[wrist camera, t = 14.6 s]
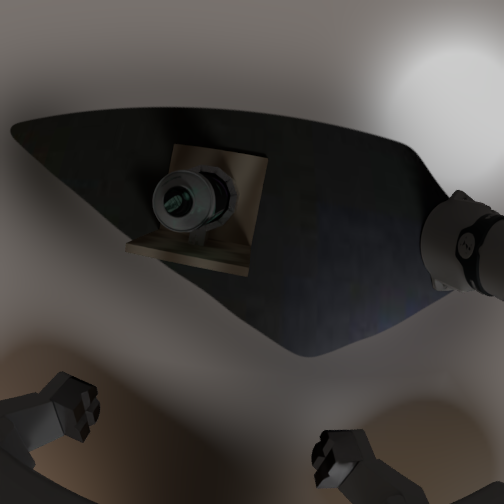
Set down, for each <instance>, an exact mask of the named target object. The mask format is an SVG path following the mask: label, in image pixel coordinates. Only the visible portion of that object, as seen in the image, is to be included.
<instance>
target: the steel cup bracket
mask: <svg viewBox="0 0 504 504" xmlns="http://www.w3.org/2000/svg"><path fill="white" fill-rule="evenodd" d="M188 170H193V171H195V172H198V173H201V174H204V175H208V174H212V175H218V176H219V177H220V178H222V179H223V180H224V181H225V182H226V184H227V187H228V190H229V192H230V195H231V196H230V201H229V207H228V210H227V211H226V212H225V213H224V215H223V216H222V217H220V218H218V219H215V220H211V221H210V222H208V223H207V224H205V225H204V226H202V227H200V228H199V229H197V230H194V231H191V232H190V235H189V241H188V243H189V244H194V245H199V246H204V245H205V244H206V243H207V241H208V235H209V230H212V229H215V228H217V227H220V226H223V225H224V224H225V223H226V222H227V221H228V220H229V218H230V217H231V216H232V215H233V214H234V213H235V211H236V210H237V208H238V202H239V197H240V193H239V190H238V188H237V185H236V182H235V180H234V179H233V178H231V177H230V176H229V175H228V174H227V173H226V172H224V171H223V170H222V169H220V168H219V167H214V166H208V165H199V166H196V167H193V168H191V169H188Z"/></svg>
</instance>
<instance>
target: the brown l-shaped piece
mask: <svg viewBox="0 0 504 504" xmlns="http://www.w3.org/2000/svg"><path fill="white" fill-rule="evenodd" d="M267 162H268V158H263V157H258V156H253V155H247V154H241V153H236V152H230V151H224V150H217V149H210V148H204V147H196V146H189V145H180V144H174V148H173V153H172V158H171V163H170V168H169V173H171V172H174V171H178V170H188V169H191V168H193V167H196V166H199V165H208V166H214V167H219V168H220V169H222V170H223V171H224V172H226V173H227V174H228V175H229V176H230V177H231V178H233V179H234V180H235V182H236V185H237V188H238V190H239V193H240V197H239V202H238V208H237V210H236V211H235V213H234V214H233V215H232V216H231V217H230V218H229V220H228V221H227V222H226V223H225V224H224V225H223V226H220V227H217V228H215V229H212V230H209V235H208V241H207V243H206V244H205V245H204V246H199V245H194V244H189V243H188V241H189V235H190V232H175V231H172V230H170V229H168V228H166V227H165V226H163V225H162V224H161V223H160V229H159V230H156V231H154V232H151V233H149V234H147V235H144V236H142V237H139V238H137V239H135V240H132V241H130V242H128V243H126V248H125V252H128V253H133V254H138V255H142V256H147V257H151V258H156V259H161V260H166V261H170V262H175V263H180V264H185V265H190V266H195V267H200V268H205V269H210V270H215V271H220V272H225V273H230V274H235V275H241V276H246V277H247V276H248V271H249V263H250V251H251V243H252V238H253V233H254V228H255V223H256V218H257V213H258V208H259V203H260V198H261V193H262V187H263V182H264V177H265V172H266V167H267ZM169 173H168V174H169ZM207 176H210V177H212V178H215V179H218V180H221V181H222V182H224V183H225V184H226V182H225V181H224V180H223V179H222V178H220V177H219V176H218V175H212V174H208V175H207ZM226 185H227V184H226ZM228 207H229V206H228ZM227 210H228V208H227V209H226V211H227ZM226 211H225V212H226ZM225 212H223V213H222V214H220V215H219V216H217V217H216V218H214V219H213V220H215V219H218V218H220V217H222V216H223V215H224V213H225Z"/></svg>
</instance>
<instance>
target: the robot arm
mask: <svg viewBox="0 0 504 504" xmlns="http://www.w3.org/2000/svg"><path fill="white" fill-rule="evenodd" d="M421 254H422V259H423V262H424V265H425V267H426V268H427V270H428V271H429V273H430V275H431V278H432V284H433V288H434V289H435V290H437V291H446V290H457V291H459V292H462V293H464V292H465V291H473V290H476V291H477V292H479V293H481V294H485V295H487V296H495V297H496V298H498V299H500V300H502V301H504V216H503V215H500V214H499V213H498V212H496V211H494V210H491V207H489V206H487V205H485V204H483V203H480V202H475V201H474V200H473V199H472V198H470V197H469V196H468V195H467V194H466V193H464V192H463V191H460V190H456V191H455V192H454V193H453V194H452V196H451V197H450V198H449V199H448V200H447V201H445V202H442V203H440V204H439V205H437V206H436V207H435V208H434V209H433V210H432V212H431V213H430V214H429V216H428V218H427V220H426V222H425V224H424V227H423V231H422V236H421ZM443 284H444V285H443ZM97 394H98V391H97V387H96V386H94V385H92V384H89V383H87V382H85V381H83V380H80V379H78V378H76V377H74V376H71V375H69V374H67V373H65V372H63V371H62V372H59V373H58V374H57V375H56V376H55V377H54V378H53V379H52V380H51V381H50V382H49V383H48V384H47V385H46V387H44V388H43V389H42V391H41V392H40V393H39V394H38V393H36V392H35V393H31V394H27V395H23V396H19V397H14V398H10V399H5V400H1V401H0V504H98V503H95V502H93V501H91V500H89V499H87V498H84V497H82V496H80V495H78V494H76V493H74V492H72V491H70V490H68V489H66V488H64V487H62V486H60V485H59V484H57V483H55V482H53V481H52V480H50V479H48V478H46V477H45V476H43V475H41V474H40V473H38V472H36V471H35V470H33V468H34V466H35V461H34V460H33V458H32V457H31V455H30V453H29V452H30V451H32V450H34V449H36V448H39V447H41V446H43V445H45V444H47V443H49V442H52V441H53V440H56V439H58V438H60V437H62V436H64V435H67V436H69V437H71V438H73V439H75V440H78V441H80V442H82V443H83V442H84V441H85V439H86V438H87V436H88V434H89V433H90V428H89V426H91V425H93V424H95V423H96V421H97V419H98V417H99V414H100V402H99V401H98V400H97V399H96V396H97ZM320 440H321V441H320V442H318V443H316V444H315V446H314V448H313V451H312V456H311V459H312V466H313V467H314V468H315V469H316V470H317V471H316V473H315V474H314V478H315V482H316V488H338V489H339V490H340V491H341V492H342V493H343V494H344V495H345V496H346V498H347V499H348V500H349V501H350V502H351V503H352V504H429V502H428V500H427V498H426V496H425V494H424V491H423V490H422V488H421V487H420V486H418V485H417V484H415V483H414V482H412V481H411V480H409V479H408V478H406V477H405V476H403V475H401V474H400V473H399V472H397V471H396V470H394V469H393V468H391V467H390V466H389V465H387V464H386V463H384V462H383V461H381V460H380V459H376V458H375V455H374V453H373V450H372V448H371V446H370V443H369V441H368V438H367V436H366V434H365V432H364V430H363V429H357V430H324V431H323V432H322V433H321V435H320ZM451 504H504V483H503V482H500V481H496V482H493V483H491V484H489V485H487V486H485V487H483V488H482V489H480V490H478V491H476V492H474V493H472V494H470V495H468V496H466V497H464V498H462V499H460V500H458V501H455V502H453V503H451Z"/></svg>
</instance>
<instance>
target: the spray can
mask: <svg viewBox="0 0 504 504" xmlns="http://www.w3.org/2000/svg"><path fill="white" fill-rule="evenodd" d="M230 196H231V195H230V192H229V190H228V187H227V185H226V184H225V183H224V182H222V181H221V180H218V179H215V178H212V177H210V176H207V175H204V174H201V173H198V172H195V171H193V170H178V171H174V172H171V173H169V174H167V175H166V176H165V177H163V178H162V179H161V180H160V182H159V183H158V184H157V186H156V188H155V191H154V194H153V200H152V201H153V209H154V213H155V215H156V217H157V219H158V220H159V222H160V223H161V224H162V225H163V226H165V227H166V228H168V229H170V230H172V231H175V232H191V231H194V230H197V229H199V228H200V227H202V226H204V225H205V224H207V223H208V222H210V221H211V220H213V219H214V218H216V217H217V216H219V215H220V214H222V213H223V212H225V211H226V209H227V208H228V206H229V201H230Z"/></svg>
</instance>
